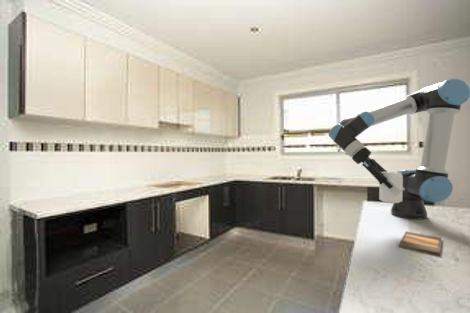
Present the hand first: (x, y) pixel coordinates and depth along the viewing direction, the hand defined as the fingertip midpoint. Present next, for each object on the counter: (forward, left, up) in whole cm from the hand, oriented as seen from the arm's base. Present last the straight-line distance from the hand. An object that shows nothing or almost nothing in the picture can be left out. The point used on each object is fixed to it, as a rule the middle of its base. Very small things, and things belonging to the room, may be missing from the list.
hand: (400, 192), depth 101 cm
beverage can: (0, -3, -4) cm, 6 cm away
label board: (+9, +8, -16) cm, 20 cm away
